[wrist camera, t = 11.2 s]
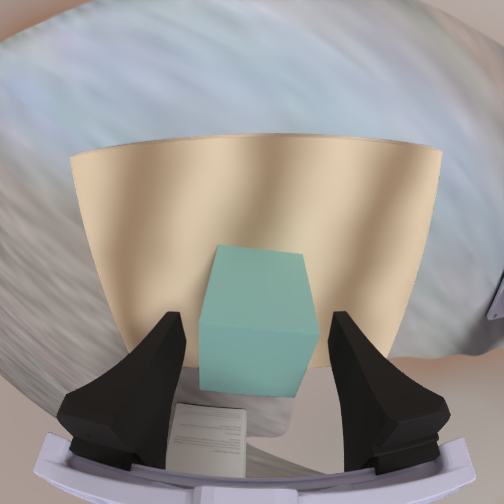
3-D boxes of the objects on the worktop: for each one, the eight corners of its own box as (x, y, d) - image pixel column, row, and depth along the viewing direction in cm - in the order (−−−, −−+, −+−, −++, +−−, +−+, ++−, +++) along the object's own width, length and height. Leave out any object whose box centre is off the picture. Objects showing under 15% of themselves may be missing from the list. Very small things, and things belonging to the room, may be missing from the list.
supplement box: (184, 430, 30) (168, 522, 19) (176, 400, 26) (153, 513, 15) (245, 436, 30) (241, 531, 19) (249, 408, 26) (244, 525, 15)
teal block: (302, 254, 16) (320, 334, 11) (287, 316, 18) (294, 397, 13) (218, 244, 16) (198, 322, 10) (214, 308, 18) (199, 389, 13)
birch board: (429, 146, 14) (442, 151, 12) (380, 347, 22) (385, 361, 20) (83, 151, 14) (69, 157, 13) (137, 348, 22) (132, 361, 21)
